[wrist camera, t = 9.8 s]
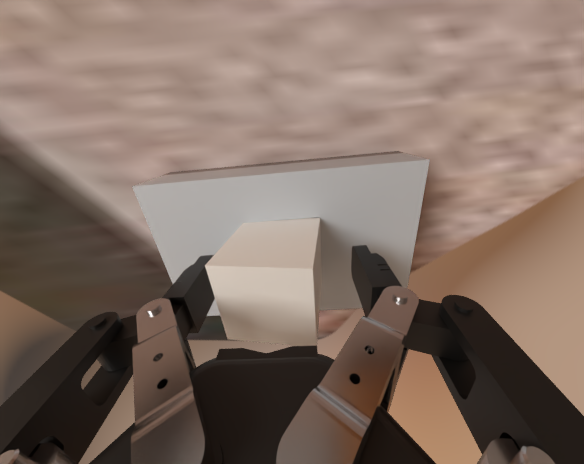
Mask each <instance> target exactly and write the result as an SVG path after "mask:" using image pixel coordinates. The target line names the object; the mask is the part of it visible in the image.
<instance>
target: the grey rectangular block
mask: <svg viewBox="0 0 584 464" xmlns="http://www.w3.org/2000/svg"><path fill="white" fill-rule="evenodd" d="M429 161H430V159H426V158H422V157H418V156H414V155H411V154H407V153H403V152H399V151H395V152H384V153H373V154H363V155H352V156H341V157H331V158H320V159H309V160H299V161H288V162H277V163H267V164H256V165H245V166H235V167H224V168H213V169H203V170H192V171H181V172H171V173H168V174H165V175H162V176H159V177H157V178H154V179H151V180H148V181H146V182H143V183H140V184H137V185H134V186H132V187H133V190H134V192H135V195H136V197H137V199H138V202H139V204H140V207H141V209H142V211H143V214H144V216H145V219H146V221H147V223H148V226H149V228H150V231H151V233H152V235H153V238H154V240H155V242H156V245H157V247H158V250H159V252H160V254H161V257H162V259H163V262H164V264H165V266H166V269H167V271H168V274H169V276H170V278H171V281H172V283H173V284H174V282H176V280H177V279H178V277H180V275H181V274H182V272H183V271H184V270H185V269H187V268H188V267H189V266H191V265H194V263H195V262H196V261H197V259H198V258H199V257H200V256H205V255H215V254H216V253H217V251H218V250H219V249H220V248H221V247H222V246H223V245H224V244H225V243H226V241H227V240H228V239H229V238H230V237H231V236H232V235H233V234H234V233H235V231H236V230H237V229H238V228H239V227H240V226H241V225H242V224H243V223H249V222H262V221H275V220H288V219H301V218H320V235H321V268H322V285H321V298H320V310H339V309H360V308H362V305H361V302H360V299H359V296H358V293H357V290H356V288H355V285H354V282H353V279H352V273H351V259H352V246H359V245H367V247H368V249H369V251H370V252H371V253H377V254H379V255H380V256H382V257H383V258H384V259H385V260H386V262H387V264H388V265H389V267H390V268H391V270H392V271H393V273H394V274H395V276H396V277H397V279H398V281H399V282H400V284H401V285H402V287H405V288H407V287H408V281H409V276H410V270H411V264H412V259H413V253H414V247H415V242H416V236H417V230H418V224H419V219H420V213H421V207H422V201H423V196H424V190H425V184H426V179H427V173H428V167H429ZM214 315H220V313H219V309H218V306H217V303H216V300H215V299H214V301H213V304H212V306H211V308H210V310H209V312H208V314H207V316H214Z"/></svg>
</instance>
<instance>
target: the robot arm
mask: <svg viewBox="0 0 584 464" xmlns="http://www.w3.org/2000/svg"><path fill="white" fill-rule="evenodd" d="M213 256H214V255H205V256H200V257H199V258H198V259H197V261H196V262H195V263H194V265H191V266H189V267H188V268H187V269H185V270H184V271H183V272H182V274H181V275H180V277H178V279H177V280H176V282H174V284H173V285H172V286H171V287H170V289H169V290H168V291H167V293H166V294H165V295H164V296H163V298H161V299H157V300H154V301H151V302H149V303H147V304H146V305H144V306H143V307H142V308H141V309H140V310H139V311H138V313H137V315H134V316H130V317H127V318H123V319H120V318H119V316H118V314H117V313H116V312H106V313H103V314H100V315H98V316H96V317H94V318H92V319H90V320H89V321H87V322H86V323H85V324H84V325H83V326H82V327H81V328H80V329H79V330H78V331H77V332H76V333H75V334H74V335H73V336H72V337H71V338H70V339H69V340H68V341H66V342H65V343H64V344H63V345H62V346H61V347H60V348H59V350H58V351H56V352H55V353H54V354H53V355H52V356H51V357H50V358H49V359H48V360H47V361H46V362H45V363H44V364H43V365H42V366H41V367H40V368H39V369H38V370H37V371H36V372H35V373H34V374H33V375H32V376H31V377H30V378H29V379H28V380H27V381H26V382H25V383H24V384H23V385H22V386H21V387H20V388H19V389H18V390H17V391H16V392H15V393H14V394H13V395H12V396H11V397H10V398H9V399H8V400H6V401H5V402H4V403H3V404H2V405H1V406H0V464H78V463H79V461H80V460H81V458H82V457H83V455H84V453H85V452H86V450H87V448H88V447H89V445H90V443H91V442H92V440H93V439H94V437H95V435H96V433H97V432H98V430H99V429H100V427H101V426H102V424H103V422H104V420H105V419H106V417H107V416H108V414H109V412H110V411H111V409H112V408H113V406H114V404H115V403H116V401H117V399H118V398H119V396H120V395H121V393H122V391H123V390H124V388H125V386H126V385H127V383H128V381H129V380H130V378H131V377H132V375H133V377H134V378H133V379H134V405H135V423H133V424H132V425H131V426H130V427H129V428H128V429H127V430H126V431H125V432H124V433H122V434H121V435H120V436H119V437H118V438H117V439H116V440H115V441H114V442H112V444H110V445H109V446H108V447H107V448H106V449H105V450H104V451H103V452H101V453H100V454H99V455H98V456H97V457H96V458H95V459H94V460H93V461H92V462H90V463H89V464H436V463H435V462H434V461H433V460H432V459H431V458H430V457H429V456H428V455H427V454H426V453H425V451H424V450H423V449H422V448H421V447H420V446H419V445H418V444H417V443H416V442H415V441H414V440H413V439H412V438H411V437H410V436H409V434H408V433H407V432H405V430H404V429H403V428H402V427H401V426H400V425H399V424H398V423H397V422H396V421H395V420H394V419H393V418H392V416H391V415H390V414H389V413H388V411H389V408H390V406H391V402H392V399H393V396H394V392H395V388H396V385H397V382H398V379H399V376H400V373H401V370H402V367H403V364H404V361H405V358H406V356H407V353H408V350H409V349H411V350H415V351H419V352H423V353H427V354H431V355H432V357H433V359H434V361H435V363H436V365H437V367H438V369H439V371H440V373H441V375H442V377H443V378H444V381H445V383H446V384H447V386H448V388H449V390H450V392H451V394H452V396H453V398H454V400H455V402H456V404H457V406H458V408H459V410H460V412H461V414H462V416H463V417H464V420H465V422H466V424H467V426H468V427H469V429H470V431H471V433H472V435H473V437H474V439H475V441H476V443H477V445H478V447H479V449H480V451H481V453H482V456H481V458H480V459H479V461H478V462H477V464H584V416H583V415H582V414H581V413H580V412H579V411H578V409H577V408H575V406H574V405H573V404H572V403H571V402H570V401H569V400H568V399H567V398H566V397H565V395H564V394H563V393H562V392H561V391H560V390H559V389H558V388H557V387H556V386H555V385H554V384H553V382H552V381H551V380H550V379H549V378H548V377H547V376H546V375H545V374H544V373H543V372H542V371H541V370H540V368H539V367H538V366H537V365H536V364H535V363H534V362H533V361H532V360H531V359H530V358H529V357H528V356H527V354H526V353H525V352H524V351H523V350H522V349H521V348H520V347H519V346H518V345H517V344H516V343H515V342H514V340H513V339H512V338H511V337H510V336H509V335H508V334H507V333H506V332H505V331H504V330H503V329H502V327H501V326H500V325H499V324H498V323H497V322H496V321H495V320H494V319H493V318H492V317H491V316H490V314H489V313H488V312H487V311H486V310H485V309H484V308H483V307H482V306H481V305H479V304H478V303H477V302H475V301H473V300H471V299H469V298H467V297H464V296H459V295H449V296H446V297H444V298H443V300H442V303H436V302H430V301H424V300H420V299H418V297H417V295H416V294H415V293H414V292H413V291H411V290H409V289H407V288H405V287H402V285H401V284H400V282H399V281H398V279H397V277H396V276H395V274H394V273H393V271H392V270H391V268H390V267H389V265H388V264H387V262H386V260H385V259H384V258H383V257H382V256H380V255H379V254H377V253H371V252H370V251H369V249H368V247H367V245H359V246H352V259H351V273H352V279H353V282H354V285H355V288H356V290H357V293H358V296H359V299H360V302H361V305H362V308H363V310H364V313H365V316H366V317H365V316H363V317H362V318H361V319H360V320H359V322H358V324H357V325H356V327H355V328H354V330H353V332H352V333H351V335H350V336H349V338H348V340H347V341H346V343H345V345H344V346H343V348H342V349H341V351H340V353H339V354H338V356H337V357H336V359H335V360H333V359H331V358H329V357H327V356H324V355H321V354H317V345H315V346H292V347H288V348H285V349H281V350H278V351H274V352H271V353H262V352H257V351H253V350H248V349H244V348H237V349H220V350H219V352H218V355H217V357H216V358H214V359H212V360H209V361H208V362H205V363H203V364H201V365H200V366H198V367H197V368H196V365H195V362H194V359H193V356H192V352H191V349H190V346H189V343H188V340H187V338H186V337H187V336H188V334H189V333H198V332H199V330H200V328H201V326H202V324H203V322H204V320H205V318H206V316H207V314H208V312H209V310H210V308H211V306H212V304H213V301H214V299H215V297H214V293H213V290H212V287H211V284H210V280H209V277H208V274H207V271H206V268H205V265H206V264H207V263H208V261H209V260H210V259H211V258H212V257H213ZM96 359H97V360H98V361H99V363H101V365H102V366H101V367H100V369H99V370H98V371H97V372H96V374H95V375H94V376H93V378H92V379H91V380H90V382H89V383H88V384H87V385H86V387H85V388H84V390H82V388H81V381H82V378H83V376H84V374H85V373H86V372H87V371H88V369H89V368H90V367H91V365H92V364H93V363H94V362H95V361H96Z"/></svg>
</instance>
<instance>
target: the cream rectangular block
mask: <svg viewBox="0 0 584 464" xmlns="http://www.w3.org/2000/svg"><path fill="white" fill-rule="evenodd" d="M205 268H206V271H207V274H208V277H209V280H210V284H211V287H212V290H213V293H214V297H215V300H216V303H217V306H218V309H219V313H220V316H221V319H222V322H223V326H224V329H225V332H226V335H227V338H228V339H231V340H241V341H252V342H262V343H272V344H282V345H292V346H315V345H317V339H318V325H319V312H320V298H321V285H322V268H321V235H320V218H301V219H288V220H275V221H262V222H249V223H243V224H242V225H241V226H240V227H239V228H238V229H237V230H236V231H235V233H234V234H233V235H232V236H231V237H230V238H229V239H228V240H227V241H226V243H225V244H224V245H223V246H222V247H221V248H220V249H219V250H218V251H217V253H216V254H215V255H214V256H213V257H212V258H211V259H210V260H209V261H208V263H207V264H206V265H205Z"/></svg>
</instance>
